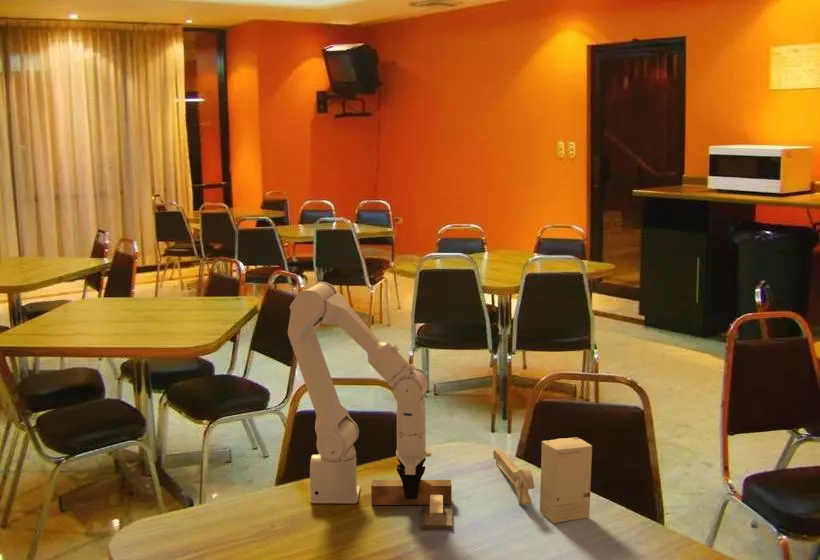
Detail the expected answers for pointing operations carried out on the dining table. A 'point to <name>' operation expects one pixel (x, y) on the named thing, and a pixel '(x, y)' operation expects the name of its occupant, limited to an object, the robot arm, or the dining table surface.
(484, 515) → the dining table surface
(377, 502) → the walnut bar
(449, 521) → the ridge
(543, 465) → the skincare box
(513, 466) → the wrench
